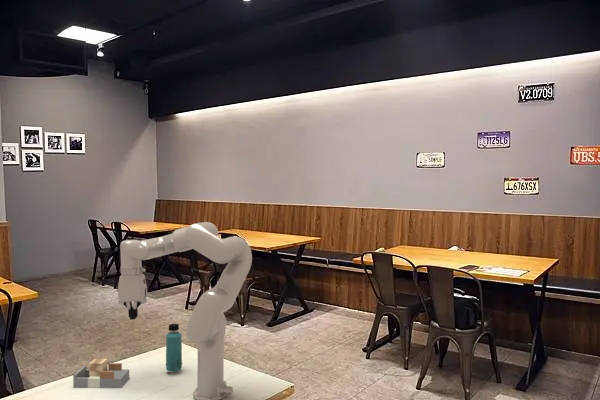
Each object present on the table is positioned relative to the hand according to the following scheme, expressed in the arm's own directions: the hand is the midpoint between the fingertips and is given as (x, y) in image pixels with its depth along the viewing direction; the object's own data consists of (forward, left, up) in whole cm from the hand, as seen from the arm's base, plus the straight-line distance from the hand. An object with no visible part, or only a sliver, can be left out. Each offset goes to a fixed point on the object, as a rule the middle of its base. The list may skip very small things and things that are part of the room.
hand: (133, 318), depth 180 cm
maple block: (+13, +4, -22) cm, 26 cm away
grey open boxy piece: (+12, +3, -25) cm, 28 cm away
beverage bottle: (-9, -14, -26) cm, 31 cm away
